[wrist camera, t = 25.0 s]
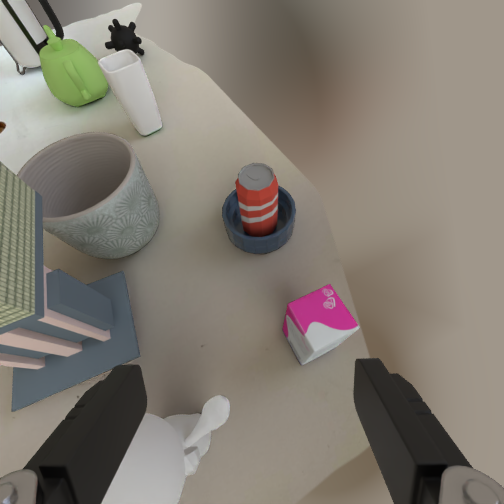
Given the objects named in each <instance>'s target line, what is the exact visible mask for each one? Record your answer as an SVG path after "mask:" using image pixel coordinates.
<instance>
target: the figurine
mask: <svg viewBox="0 0 504 504" xmlns="http://www.w3.org/2000/svg"><path fill="white" fill-rule="evenodd" d="M229 413H230V404H229V400H228V399H227V398H226V397H225V396H221V395H217V396H214V397H212V398H211V399H209V400H208V401H207V402H206V403H205V405H204V407H203V410H202V414H199V413H195V414H191V415H186V414H179V415H172V416H168V417H166V418H164V419H162V418H161V417H158V416H156V415H153V414H149V413H145V415H144V417H143V419H142V421H141V423H140V425H139V427H138V430H137V432H136V434H135V436H134V438H133V440H132V442H131V444H130V446H129V448H128V450H127V452H126V454H125V456H124V458H123V460H122V462H121V464H120V466H119V468H118V470H117V472H116V474H115V476H114V478H113V480H112V482H111V485H110V487H109V489H108V491H107V493H106V495H105V497H104V499H103V501H102V503H101V504H178V502H179V499H180V496H181V493H182V489H183V486H184V483H185V480H186V476H188V475H192V474H195V472H196V470H197V467H198V465H199V462H200V458H201V457H202V456H203V455H205V454H206V453H207V451H208V449H209V446H210V443H211V431H212V430H216V429H217V428H219V427H220V426H221V425H223V424H224V423H225V422H226V421H227V419H228V416H229Z"/></svg>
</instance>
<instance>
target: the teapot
mask: <svg viewBox="0 0 504 504" xmlns="http://www.w3.org/2000/svg"><path fill="white" fill-rule="evenodd" d="M44 31H45V32H46V34H47V36H48V38H49V40H48V41H47V43H48V45H46V46H44V47H43V48H42V49H41V50H40V54H39V56H40V63H41V68H42V72H43V76H44V78H45V81H46V83H47V85H48V87H49V89H50V91H51V92H52V94H53V95H54V96H55V97H56V98H57V99H59V100H60V101H62V102H64V103H66V104H68V105H72V106H75V107H80V106H82V105H83V104H86V103H89V102H92V101H94V100H96V99H98V98H103V97H104V96H105V93H106V92H107V89H108V82H107V80H106V78H105V76H104V74H103V72H102V70H101V68H100V66H99V65H98V60H97V59H96V58H95V57H94V56H93V55H92V54H91V53H90V52H89V51H88V50H87V49H85V48H84V47H83V46H82V45H81V44H79V43H78V42H77V41H75V40H72V39H65V40H61V39H60V38H59V37H56V36H55V34H54V33H53V31H52V30H51V29H50V27H49V26H47V25H44Z"/></svg>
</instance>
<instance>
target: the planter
mask: <svg viewBox="0 0 504 504" xmlns="http://www.w3.org/2000/svg"><path fill="white" fill-rule="evenodd" d="M17 176H18V177H19V178H20V179H21V180H22V181H23V182H24V183H26V184H27V185H28V186H29V187H30V188H31V189H33V190H34V191H36V192H38V193H39V194H40V195H41V196H42V211H43V229H45V230H46V231H48V232H49V233H51V234H53V235H54V236H56V237H58V238H59V239H61V240H62V241H64V242H66V243H67V244H69V245H71V246H72V247H74V248H76V249H77V250H79V251H81V252H83V253H85V254H88V255H90V256H94V257H98V258H104V259H115V258H121V257H125V256H128V255H131V254H133V253H135V252H137V251H138V250H140V249H141V248H143V247H144V246H145V245H146V244H147V243H148V242H149V241H150V240H151V239H152V237H153V236H154V234H155V232H156V230H157V228H158V224H159V206H158V202H157V199H156V196H155V194H154V192H153V190H152V188H151V186H150V183H149V181H148V179H147V177H146V175H145V173H144V171H143V168H142V166H141V164H140V162H139V160H138V158H137V156H136V153H135V151H134V149H133V148H132V146H131V145H130V144H129V143H128V142H127V141H126V140H125V139H123V138H121V137H119V136H117V135H115V134H111V133H105V132H88V133H82V134H77V135H73V136H70V137H67V138H64V139H61V140H59V141H57V142H55V143H53V144H51V145H49V146H47V147H46V148H44V149H42V150H41V151H39V152H38V153H37V154H36V155H34V156H33V157H32V158H31V159H30V160H29V161H28V162H27V163H26V164H25V165H24V166H23V167H22V168H21V170H20V171H19V173H18V174H17Z"/></svg>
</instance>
